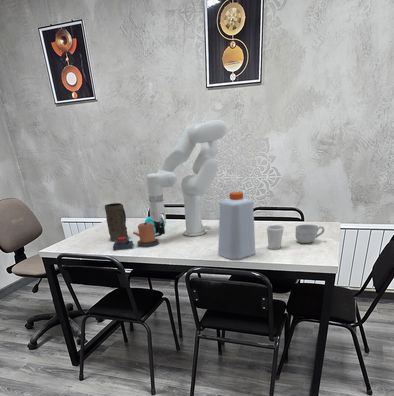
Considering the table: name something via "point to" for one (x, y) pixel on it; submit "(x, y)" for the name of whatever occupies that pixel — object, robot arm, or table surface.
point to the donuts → (148, 220)
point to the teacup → (307, 233)
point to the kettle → (146, 232)
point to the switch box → (123, 245)
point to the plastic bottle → (236, 227)
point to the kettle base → (148, 243)
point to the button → (122, 239)
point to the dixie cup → (274, 236)
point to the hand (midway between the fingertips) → (160, 233)
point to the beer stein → (116, 221)
